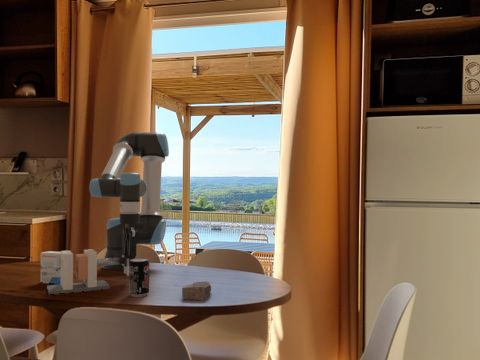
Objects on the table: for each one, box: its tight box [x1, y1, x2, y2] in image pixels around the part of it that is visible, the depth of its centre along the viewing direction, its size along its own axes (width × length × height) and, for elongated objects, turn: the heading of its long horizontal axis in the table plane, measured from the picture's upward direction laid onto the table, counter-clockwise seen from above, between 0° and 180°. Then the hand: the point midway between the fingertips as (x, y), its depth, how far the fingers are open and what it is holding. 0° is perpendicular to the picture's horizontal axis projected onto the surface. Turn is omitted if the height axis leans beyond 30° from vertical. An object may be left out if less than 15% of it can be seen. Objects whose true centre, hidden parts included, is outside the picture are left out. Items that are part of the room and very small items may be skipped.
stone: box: [181, 281, 212, 301], centre depth 143 cm, size 12×9×5 cm
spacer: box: [74, 253, 88, 281], centre depth 153 cm, size 3×8×8 cm, turn 29°
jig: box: [46, 248, 110, 296], centre depth 153 cm, size 20×10×13 cm, turn 119°
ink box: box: [39, 250, 61, 285], centre depth 163 cm, size 9×5×12 cm, turn 71°
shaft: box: [97, 254, 128, 267], centre depth 158 cm, size 19×4×4 cm, turn 119°
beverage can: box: [128, 257, 150, 298], centre depth 144 cm, size 7×7×12 cm
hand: (129, 274), depth 161 cm, fingers closed on shaft, 4 cm apart
